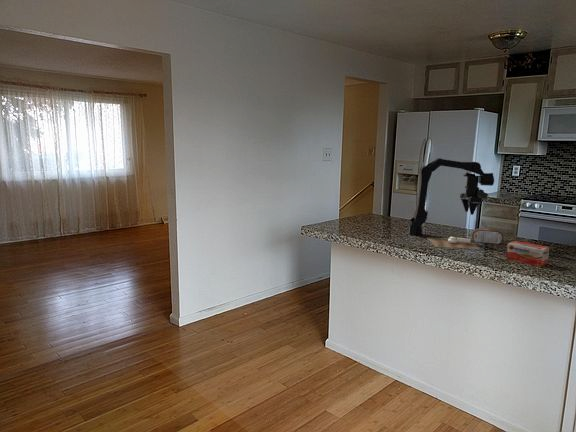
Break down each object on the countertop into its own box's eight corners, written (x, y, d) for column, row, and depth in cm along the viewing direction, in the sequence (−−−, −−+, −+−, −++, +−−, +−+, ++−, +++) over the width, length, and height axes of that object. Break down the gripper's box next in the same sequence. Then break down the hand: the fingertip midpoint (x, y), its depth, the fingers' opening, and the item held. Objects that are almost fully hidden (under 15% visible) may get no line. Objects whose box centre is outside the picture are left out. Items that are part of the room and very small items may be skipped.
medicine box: (505, 259, 192) (507, 242, 190) (512, 256, 197) (514, 240, 196) (541, 267, 181) (543, 249, 179) (547, 264, 186) (550, 247, 184)
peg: (447, 242, 215) (447, 237, 214) (448, 240, 219) (448, 235, 218) (473, 245, 209) (473, 240, 209) (473, 243, 213) (474, 238, 213)
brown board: (434, 249, 207) (435, 246, 207) (426, 239, 227) (426, 237, 227) (480, 251, 205) (480, 248, 205) (467, 241, 225) (468, 238, 224)
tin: (501, 245, 218) (503, 229, 216) (502, 246, 215) (504, 231, 213) (470, 242, 223) (472, 227, 221) (471, 243, 220) (473, 228, 218)
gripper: (494, 187, 215) (490, 216, 218) (481, 183, 233) (478, 210, 236) (472, 186, 216) (468, 216, 219) (460, 183, 234) (458, 210, 237)
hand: (469, 213), depth 228 cm, fingers open, 9 cm apart
